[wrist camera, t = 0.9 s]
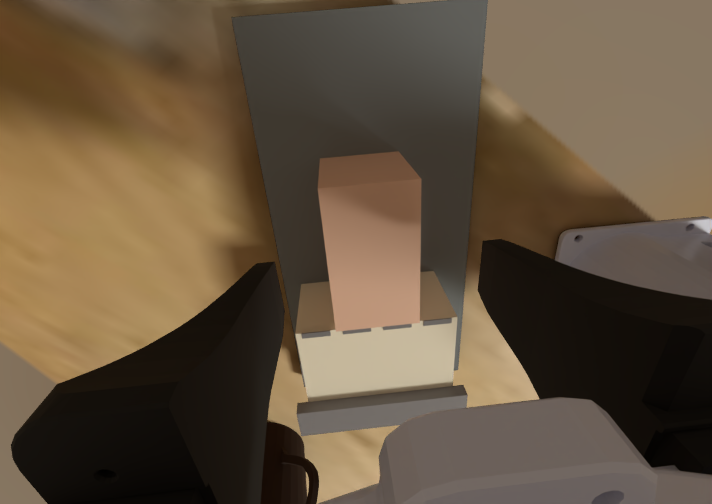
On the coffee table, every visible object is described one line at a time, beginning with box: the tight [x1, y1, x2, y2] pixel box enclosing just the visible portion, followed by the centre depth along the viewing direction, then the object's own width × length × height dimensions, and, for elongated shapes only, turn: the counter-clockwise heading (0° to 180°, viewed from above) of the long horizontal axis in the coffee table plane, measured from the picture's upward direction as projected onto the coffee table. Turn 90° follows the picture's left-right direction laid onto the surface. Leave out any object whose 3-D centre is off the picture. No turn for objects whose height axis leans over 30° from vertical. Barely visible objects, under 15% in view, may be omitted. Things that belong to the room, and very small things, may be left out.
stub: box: [318, 151, 421, 332], centre depth 18 cm, size 4×7×5 cm, turn 4°
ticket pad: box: [295, 271, 468, 436], centre depth 21 cm, size 9×7×5 cm
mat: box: [231, 0, 488, 387], centre depth 21 cm, size 11×22×1 cm, turn 4°
